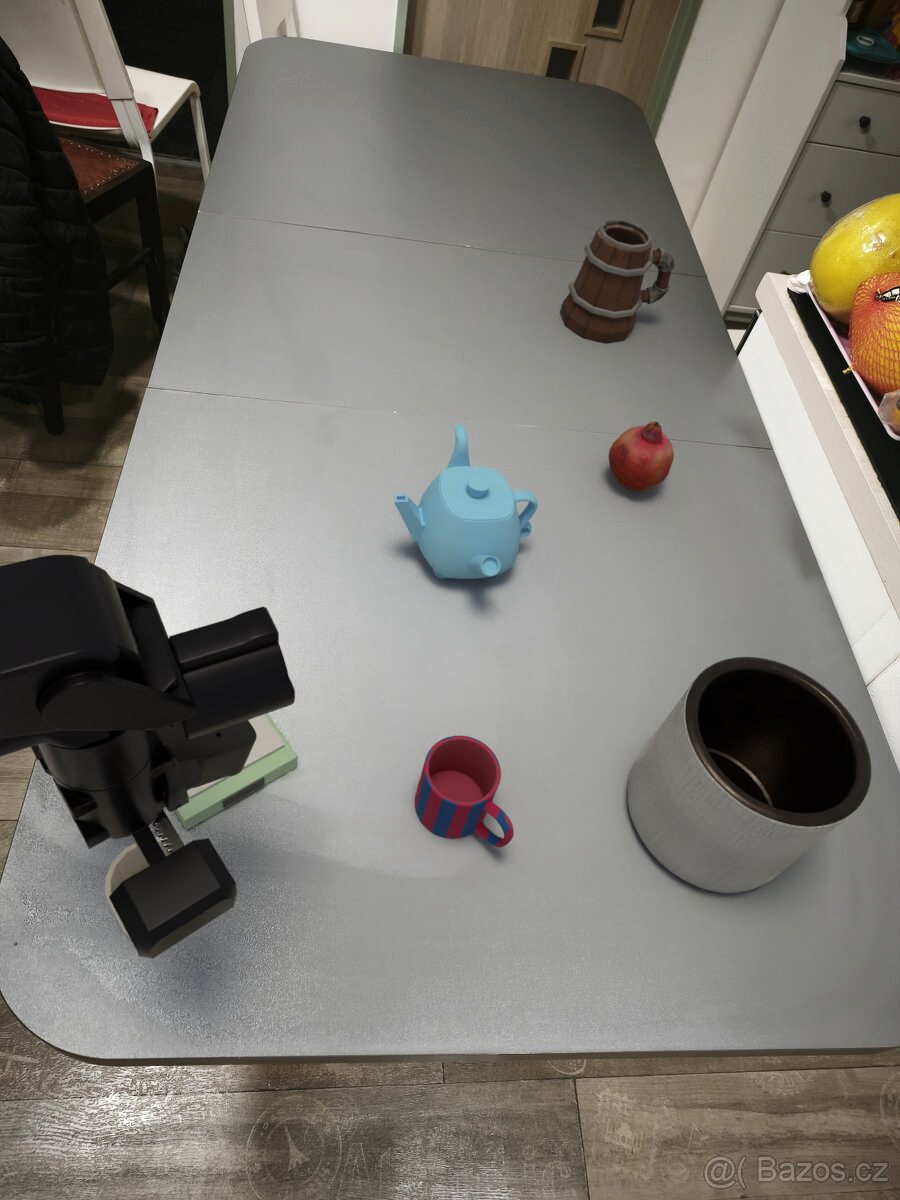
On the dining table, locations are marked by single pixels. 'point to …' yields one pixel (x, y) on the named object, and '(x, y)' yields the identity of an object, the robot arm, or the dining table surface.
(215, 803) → the scale
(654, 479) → the fruit
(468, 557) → the teapot
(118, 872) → the ramekin
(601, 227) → the mug
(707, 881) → the planter
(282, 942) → the dining table surface
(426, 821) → the cup
